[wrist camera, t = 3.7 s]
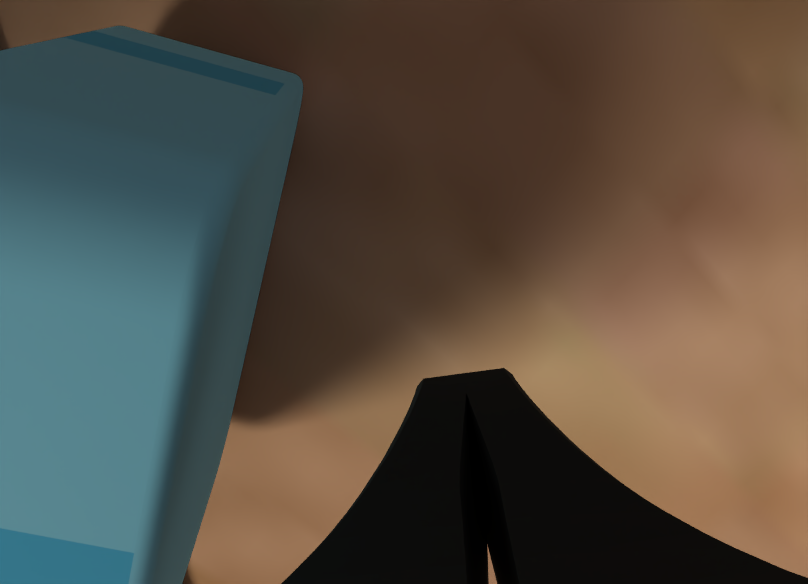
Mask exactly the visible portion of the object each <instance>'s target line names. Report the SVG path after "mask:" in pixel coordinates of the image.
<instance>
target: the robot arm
mask: <svg viewBox="0 0 808 584" xmlns="http://www.w3.org/2000/svg"><path fill="white" fill-rule="evenodd" d="M487 544H488V548H489V552H490V556H491V560H492V564H493V568H494V572H495V576H496V580H497V584H808V578H806V577H803V576H801V575H798V574H795V573H792V572H789V571H787V570H784V569H782V568H779V567H777V566H775V565H772V564H770V563H768V562H766V561H763V560H761V559H759V558H756V557H754V556H752V555H750V554H747V553H745V552H743V551H740V550H738V549H736V548H734V547H732V546H730V545H728V544H725V543H723V542H721V541H719V540H717V539H715V538H713V537H711V536H709V535H707V534H705V533H703V532H701V531H699V530H698V529H696V528H694V527H692V526H690V525H689V524H687V523H685V522H683V521H681V520H680V519H678V518H676V517H674V516H672V515H671V514H669V513H667V512H665V511H663V510H662V509H660V508H659V507H657V506H655V505H654V504H652V503H650V502H649V501H647V500H646V499H644V498H643V497H641V496H640V495H638V494H637V493H635V492H634V491H632V490H631V489H629V488H628V487H626V486H625V485H624V484H622V483H621V482H620V481H618V480H617V479H616V478H614V477H613V476H612V475H611V474H609V473H608V472H607V471H605V470H604V469H603V468H602V467H600V466H599V465H598V464H597V463H596V462H595V461H593V460H592V459H591V458H590V457H589V456H588V455H586V454H585V453H584V452H583V451H582V450H581V449H579V448H578V447H577V446H576V445H575V444H574V443H573V442H572V441H571V440H570V439H569V438H568V437H567V436H566V435H565V434H564V433H563V432H562V431H560V430H559V429H558V428H557V427H556V426H555V425H554V424H553V423H552V422H551V421H550V420H549V419H548V418H547V416H546V415H545V414H544V413H543V412H542V411H541V410H540V409H539V408H538V407H537V406H536V404H535V403H534V402H533V401H532V400H531V399H530V398H529V396H528V395H527V394H526V393H525V391H524V390H523V389H522V388H521V386H520V385H519V384H518V382H517V381H516V380H515V378H514V377H513V375H512V374H511V373H510V372H509V371H507V370H506V369H505V368H501V369H493V370H485V371H478V372H470V373H463V374H455V375H448V376H440V377H433V378H425V379H423V380H422V381H421V382H420V384H419V385H418V386H417V389H416V392H415V395H414V397H413V400H412V403H411V405H410V407H409V410H408V412H407V414H406V416H405V418H404V420H403V423H402V425H401V427H400V429H399V430H398V432H397V434H396V436H395V438H394V440H393V442H392V443H391V445H390V447H389V449H388V451H387V453H386V455H385V456H384V458H383V460H382V461H381V463H380V464H379V466H378V468H377V469H376V471H375V472H374V474H373V475H372V477H371V478H370V480H369V482H368V483H367V485H366V486H365V488H364V489H363V491H362V492H361V494H360V495H359V497H358V498H357V499H356V501H355V502H354V503H353V505H352V506H351V508H350V509H349V510H348V512H347V513H346V514H345V515H344V517H343V518H342V519H341V520H340V522H339V523H338V524H337V525H336V527H335V528H334V529H333V530H332V531H331V533H330V534H329V535H328V536H327V537H326V539H325V540H324V541H323V542H322V543H321V544H320V545H319V546H318V547H317V548H316V549H315V551H314V552H313V553H312V554H311V555H310V556H309V557H308V558H307V559H306V560H305V561H304V562H303V563H302V564H301V565H300V566H299V567H298V568H297V569H296V570H295V571H294V572H293V573H292V574H291V575H290V576H289V577H288V578H287V579H286V580H285V581H284V582H282V583H281V584H489V583H488V553H487Z"/></svg>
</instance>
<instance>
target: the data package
mask: <svg viewBox="0 0 808 584" xmlns="http://www.w3.org/2000/svg"><path fill="white" fill-rule="evenodd" d="M302 95H303V82H302V80H301V79H300V77H299V76H298V75H296V74H294V73H291V72H287V71H283V70H280V69H276V68H273V67H269V66H266V65H262V64H258V63H255V62H251V61H248V60H244V59H240V58H237V57H233V56H230V55H226V54H222V53H219V52H215V51H212V50H208V49H205V48H201V47H197V46H194V45H190V44H187V43H183V42H179V41H176V40H172V39H169V38H165V37H162V36H158V35H154V34H151V33H147V32H144V31H140V30H136V29H133V28H129V27H126V26H114V27H110V28H105V29H100V30H95V31H91V32H86V33H81V34H76V35H72V36H67V37H62V38H57V39H53V40H48V41H43V42H38V43H34V44H29V45H24V46H19V47H15V48H10V49H5V50H0V584H182V583H183V580H184V577H185V573H186V570H187V567H188V564H189V561H190V557H191V554H192V551H193V548H194V545H195V541H196V538H197V535H198V532H199V529H200V525H201V522H202V519H203V516H204V513H205V509H206V506H207V503H208V500H209V497H210V493H211V490H212V487H213V484H214V481H215V477H216V474H217V471H218V467H219V464H220V460H221V456H222V453H223V449H224V445H225V441H226V437H227V433H228V429H229V425H230V421H231V417H232V412H233V408H234V403H235V399H236V394H237V390H238V386H239V381H240V377H241V372H242V368H243V363H244V359H245V354H246V350H247V345H248V341H249V337H250V332H251V328H252V323H253V319H254V314H255V310H256V305H257V301H258V296H259V292H260V288H261V283H262V279H263V274H264V270H265V265H266V261H267V256H268V252H269V247H270V243H271V238H272V234H273V230H274V225H275V221H276V216H277V212H278V207H279V203H280V198H281V194H282V189H283V185H284V181H285V176H286V172H287V167H288V163H289V158H290V154H291V149H292V145H293V140H294V136H295V131H296V127H297V122H298V117H299V112H300V107H301V101H302Z"/></svg>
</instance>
